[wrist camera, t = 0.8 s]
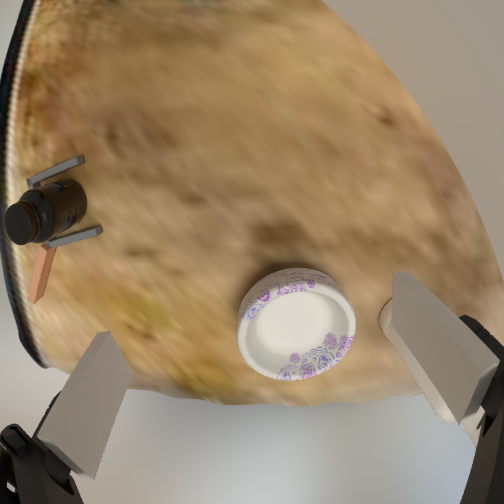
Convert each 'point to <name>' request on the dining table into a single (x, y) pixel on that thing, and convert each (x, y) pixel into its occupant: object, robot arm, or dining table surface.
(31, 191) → the supplement bottle
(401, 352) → the bottle
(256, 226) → the dining table surface
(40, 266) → the holder
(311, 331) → the paper bowls
